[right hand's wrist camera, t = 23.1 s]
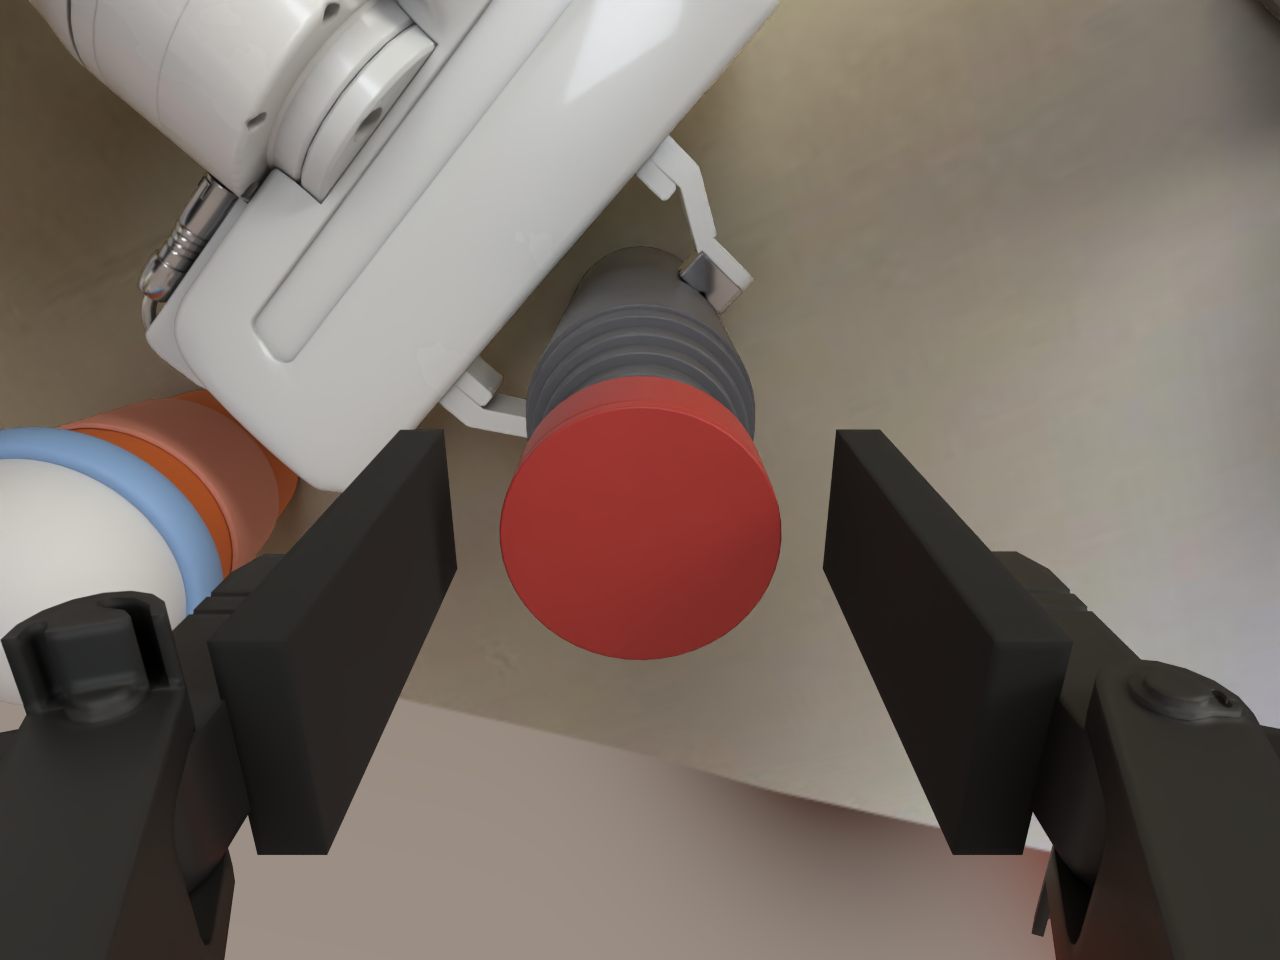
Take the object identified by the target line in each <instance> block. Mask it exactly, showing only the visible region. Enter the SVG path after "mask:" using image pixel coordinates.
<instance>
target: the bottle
mask: <svg viewBox="0 0 1280 960" xmlns="http://www.w3.org/2000/svg"><path fill="white" fill-rule="evenodd" d="M682 263H683V261H682V260H680V259H679V258H677V257H676V256H674V255H672V254H670V253H668V252H666V251H663V250H660V249H656V248H651V247H629V248H624V249H621V250H618V251H615V252H613V253H611V254H609V255H607V256H605V257H603V258H602V259H601V260H599V261H598V262H597V263H595V264H594V265H593V266H592V267H591V268H590V269H589V271H588V272H587V273H586V274H585V276H584V277H583V279H582V280H581V282H580V284H579V286H578V288H577V289H576V291H575V293H574V295H573V297H572V299H571V301H570V303H569V305H568V307H567V309H566V311H565V313H564V314H563V316H562V318H561V320H560V322H559V324H558V326H557V328H556V330H555V332H554V334H553V336H552V338H551V339H550V341H549V343H548V345H547V347H546V349H545V351H544V353H543V355H542V357H541V359H540V361H539V363H538V365H537V367H536V369H535V371H534V373H533V376H532V379H531V382H530V386H529V389H528V395H527V401H526V431H527V440H528V441H529V439H530V437H531V436H532V434H533V433H534V431H535V429H536V428H537V426H538V425H539V424H540V423H541V422H542V420H543V419H544V418H545V417H546V416H547V414H549V413H550V412H551V411H552V410H553V409H554V408H555V407H556V406H557V405H558V404H560V403H561V402H563V401H564V400H565V399H567V398H568V397H570V396H571V395H573V394H575V393H577V392H579V391H580V390H582V389H584V388H586V387H589V386H591V385H594V384H597V383H600V382H603V381H606V380H611V379H616V378H620V377H632V376H649V377H659V378H665V379H671V380H675V381H678V382H681V383H684V384H687V385H690V386H692V387H694V388H696V389H699V390H701V391H703V392H705V393H706V394H708V395H710V396H711V397H713V398H714V399H716V400H717V401H719V402H720V403H721V404H722V405H723V406H725V407H726V408H727V409H728V410H729V411H731V412H732V414H733V415H734V416H735V417H736V418H737V419H738V420H739V421H740V422H741V424H742V425H743V427H744V428H745V429H746V431H747V432H748V434H749V435H750V437H751V439H752V441H753V439H754V431H755V402H754V395H753V390H752V386H751V383H750V379H749V376H748V374H747V372H746V369H745V367H744V365H743V363H742V361H741V359H740V357H739V355H738V353H737V351H736V349H735V347H734V346H733V344H732V342H731V340H730V338H729V336H728V334H727V332H726V330H725V328H724V326H723V324H722V323H721V321H720V319H719V317H718V315H717V313H716V311H715V309H714V308H713V307H712V306H711V305H710V304H709V302H708V301H707V300H706V298H705V296H704V294H703V292H698V291H697V290H695V289H694V288H692V287H691V286H690V285H689V284H688V283H687V282H686V281H685V280H684V279H683V278H682V277H681V276H680V274H679V272H678V268H679V267H680V266H681V265H682Z"/></svg>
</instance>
